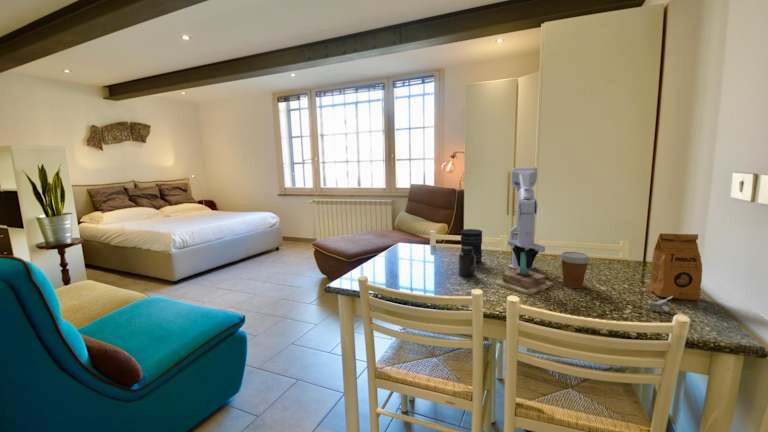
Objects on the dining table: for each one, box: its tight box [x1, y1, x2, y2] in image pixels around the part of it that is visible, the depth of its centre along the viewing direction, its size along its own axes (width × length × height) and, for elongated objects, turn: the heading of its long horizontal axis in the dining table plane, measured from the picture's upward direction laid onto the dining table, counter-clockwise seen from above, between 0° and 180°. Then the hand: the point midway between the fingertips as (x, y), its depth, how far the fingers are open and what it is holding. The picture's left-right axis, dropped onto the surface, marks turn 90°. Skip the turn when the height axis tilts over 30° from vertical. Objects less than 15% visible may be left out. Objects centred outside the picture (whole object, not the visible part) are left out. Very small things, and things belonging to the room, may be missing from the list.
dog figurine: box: [647, 296, 674, 313], centre depth 105 cm, size 3×8×6 cm
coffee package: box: [648, 232, 703, 301], centre depth 115 cm, size 10×12×22 cm
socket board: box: [494, 269, 554, 296], centre depth 130 cm, size 16×14×4 cm
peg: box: [520, 252, 530, 274], centre depth 129 cm, size 3×3×8 cm
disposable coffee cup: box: [559, 251, 590, 289], centre depth 127 cm, size 10×10×12 cm
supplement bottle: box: [458, 246, 476, 278], centre depth 142 cm, size 7×7×12 cm
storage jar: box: [460, 228, 483, 266], centre depth 160 cm, size 10×10×15 cm
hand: (524, 266), depth 129 cm, fingers closed on peg, 3 cm apart
